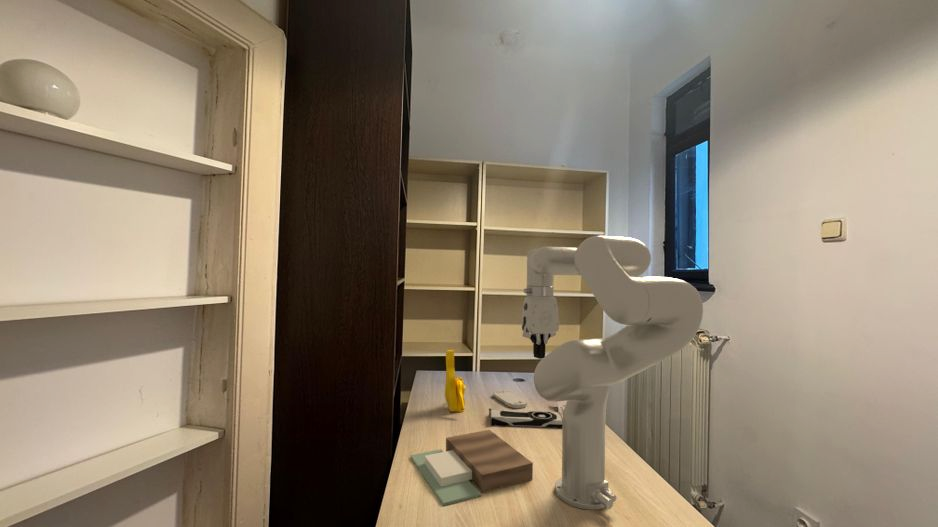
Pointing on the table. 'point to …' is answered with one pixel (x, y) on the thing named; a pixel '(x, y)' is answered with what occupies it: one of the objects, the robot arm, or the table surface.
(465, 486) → the mat
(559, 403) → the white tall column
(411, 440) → the table surface
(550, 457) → the table surface
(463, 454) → the block
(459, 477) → the tile
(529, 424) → the graphics card
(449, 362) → the yellow upright piece
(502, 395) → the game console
